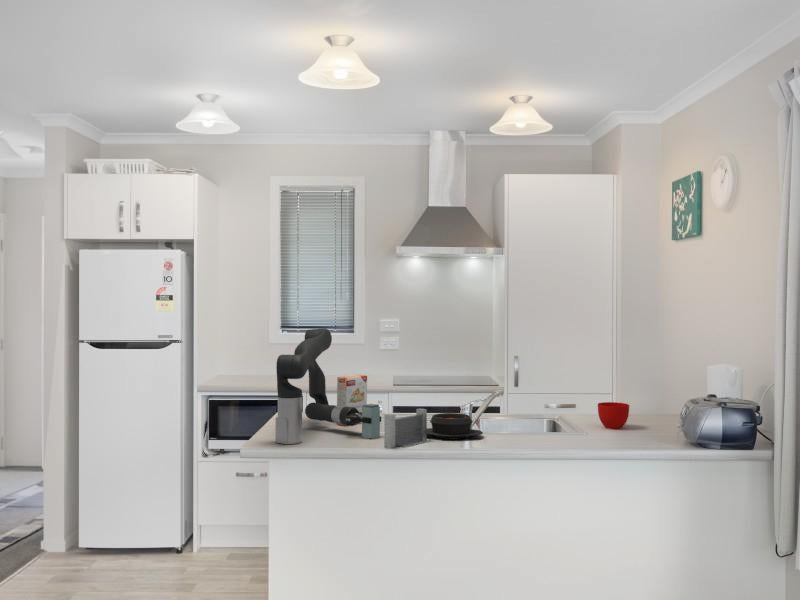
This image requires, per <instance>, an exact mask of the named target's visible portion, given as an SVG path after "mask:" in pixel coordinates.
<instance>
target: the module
mask: <svg viewBox="0 0 800 600" xmlns="http://www.w3.org/2000/svg"><path fill="white" fill-rule="evenodd" d="M362 416H363V417H368V418H371V419H372V423H371V424H368V423H361V438H363V437H364V439H369V438H371V439H370V440H373V439H378V438H380V437H381V422H380V416H381V406H380V405H379V404H377V403H367V404H365V405H363V407H362ZM377 437H378V438H377ZM372 438H373V439H372Z"/></svg>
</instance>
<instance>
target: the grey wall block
mask: <svg viewBox="0 0 800 600" xmlns="http://www.w3.org/2000/svg"><path fill="white" fill-rule="evenodd" d="M427 411H428V410H427V409H425V408H416V414H413V415H407V416H401V417H396V414H390V413H385V414H384V419H383V420H384V421H383V422H384V423H383V424H384V428H383V430H384V432H383V433H384V437H383V438H384V443H383V444H384V448H387V449H394V448H398V447H401V448H408V447H413V446H417V445H420V444H425V443H426V444H427V443H428V442H429V440H428V439H427V436H428V435H427V423H428V421H427V420H428V419H427V418H428V417H427V416H428V415H427V413H428V412H427Z"/></svg>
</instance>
